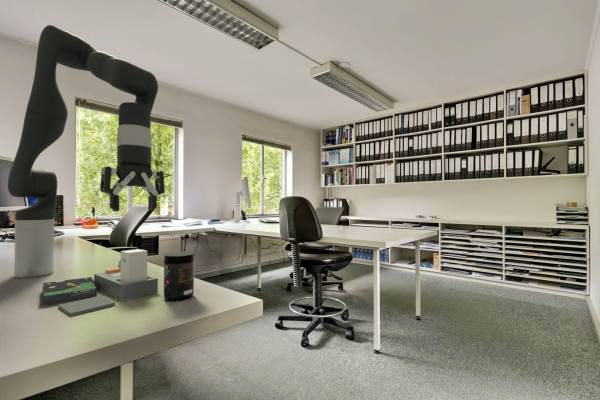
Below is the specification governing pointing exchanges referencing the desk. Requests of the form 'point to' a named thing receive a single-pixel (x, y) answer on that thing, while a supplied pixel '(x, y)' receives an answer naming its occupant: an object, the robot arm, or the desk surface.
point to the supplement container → (178, 276)
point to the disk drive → (68, 291)
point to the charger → (133, 266)
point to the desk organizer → (124, 285)
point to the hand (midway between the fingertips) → (134, 210)
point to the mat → (86, 305)
